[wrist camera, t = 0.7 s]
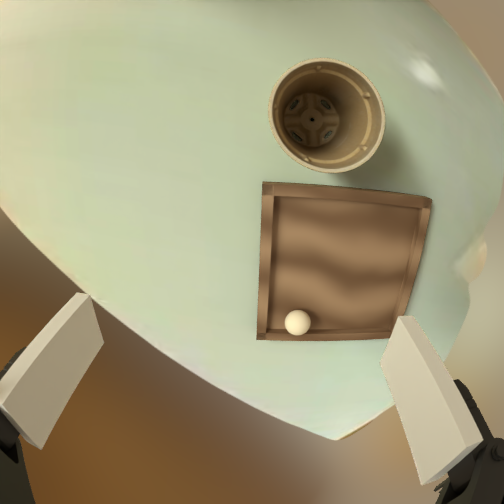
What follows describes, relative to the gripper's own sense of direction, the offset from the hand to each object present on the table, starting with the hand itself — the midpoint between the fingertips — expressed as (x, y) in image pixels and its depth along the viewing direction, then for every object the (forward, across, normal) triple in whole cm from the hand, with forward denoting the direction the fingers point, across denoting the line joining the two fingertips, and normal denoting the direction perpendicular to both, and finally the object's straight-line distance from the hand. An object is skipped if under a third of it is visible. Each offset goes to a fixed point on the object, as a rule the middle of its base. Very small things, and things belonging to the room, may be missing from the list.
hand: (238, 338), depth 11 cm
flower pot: (+22, +5, +10) cm, 25 cm away
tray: (+22, +11, -7) cm, 25 cm away
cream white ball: (+21, +6, -14) cm, 26 cm away
